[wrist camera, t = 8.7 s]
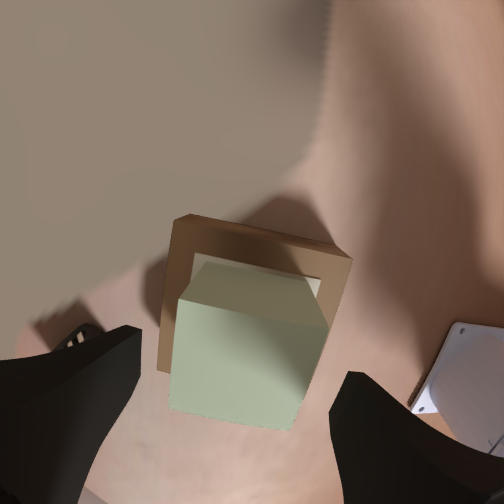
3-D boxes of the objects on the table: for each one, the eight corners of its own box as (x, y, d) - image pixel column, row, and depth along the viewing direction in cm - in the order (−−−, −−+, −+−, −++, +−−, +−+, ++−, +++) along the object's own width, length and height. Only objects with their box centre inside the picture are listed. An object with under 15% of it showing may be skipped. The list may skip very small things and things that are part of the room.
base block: (336, 245, 15) (353, 259, 12) (298, 369, 17) (303, 400, 14) (189, 213, 15) (173, 220, 12) (171, 343, 17) (156, 370, 14)
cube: (307, 281, 13) (329, 329, 8) (282, 366, 14) (289, 430, 9) (206, 260, 13) (178, 298, 8) (192, 348, 14) (168, 408, 9)
